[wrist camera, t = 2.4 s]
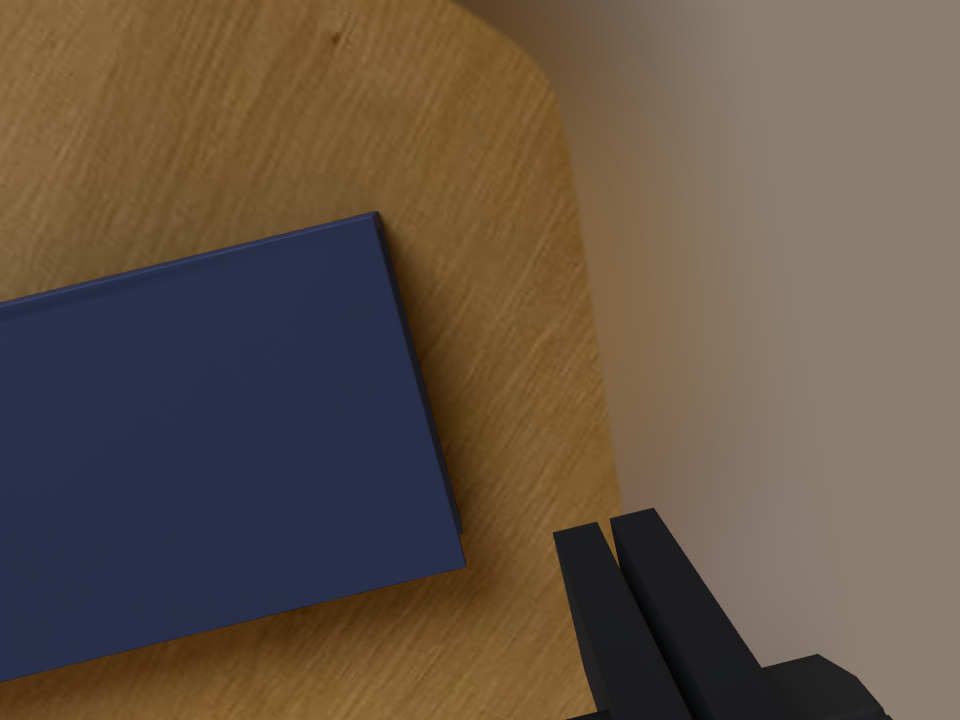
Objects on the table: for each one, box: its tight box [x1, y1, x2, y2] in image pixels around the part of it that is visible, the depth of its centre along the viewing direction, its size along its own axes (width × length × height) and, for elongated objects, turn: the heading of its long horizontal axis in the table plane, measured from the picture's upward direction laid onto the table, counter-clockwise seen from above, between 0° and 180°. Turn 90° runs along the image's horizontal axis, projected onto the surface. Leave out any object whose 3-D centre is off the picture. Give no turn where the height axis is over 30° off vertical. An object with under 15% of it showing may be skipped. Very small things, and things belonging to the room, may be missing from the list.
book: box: [0, 211, 466, 682], centre depth 27 cm, size 24×13×3 cm, turn 103°
